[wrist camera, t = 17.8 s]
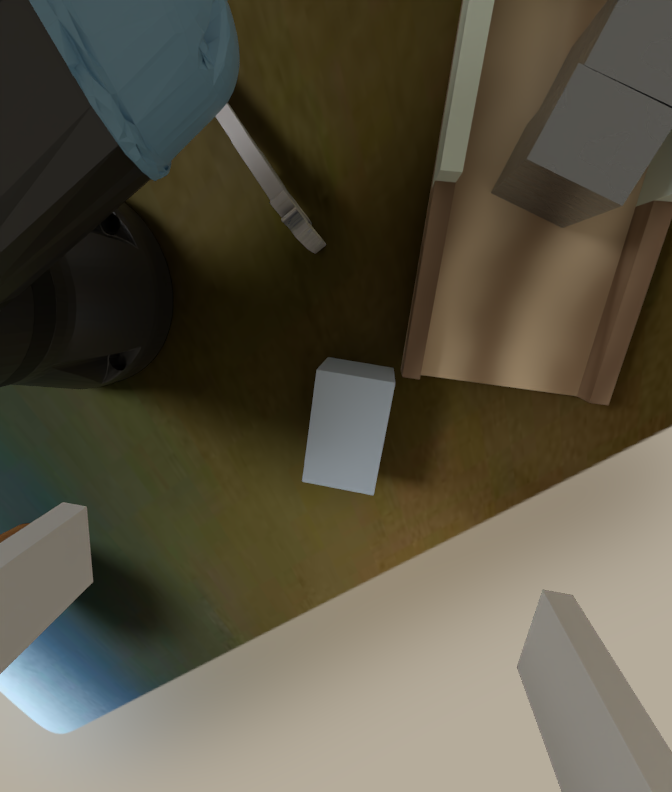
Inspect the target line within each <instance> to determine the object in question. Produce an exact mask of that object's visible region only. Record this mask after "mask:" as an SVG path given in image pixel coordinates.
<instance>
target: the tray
mask: <svg viewBox="0 0 672 792" xmlns="http://www.w3.org/2000/svg"><path fill="white" fill-rule="evenodd" d="M494 1H495V0H463V5H462V11H461V17H460V23H459V29H458V35H457V41H456V47H455V53H454V59H453V65H452V71H451V76H450V82H449V88H448V94H447V100H446V106H445V112H444V118H443V124H442V130H441V136H440V142H439V148H438V154H437V160H436V166H435V172H434V178H433V184H434V182H435V181H446V182H456V181H457V180H458V178H459V177H460V175H461V174H462V172H463V167H464V162H465V156H466V151H467V146H468V140H469V135H470V129H471V124H472V119H473V113H474V108H475V103H476V97H477V92H478V86H479V81H480V76H481V70H482V65H483V60H484V54H485V49H486V43H487V38H488V33H489V27H490V22H491V17H492V11H493V6H494ZM433 184H432V187H433ZM654 200H656V201H668V202H672V129H671V131H670V132H669V134H668V135H667V137H666V139H665V140H664V142H663V143H662V145H661V146H660V148H659V149H658V151H657V153H656V154H655V156H654V157H653V159H652V160H651V162H650V164H649V165H648V169H647V172H646V175H645V178H644V181H643V185H642V188H641V191H640V194H639V198H638V201H637V204H636V207H637V206H639V205H642V204H645V203H648V202H651V201H654Z"/></svg>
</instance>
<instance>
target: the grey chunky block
mask: <svg viewBox="0 0 672 792" xmlns="http://www.w3.org/2000/svg"><path fill="white" fill-rule="evenodd" d="M578 63H580V64H582V65H584V66H586V67H588V68H590V69H592V70H595V71H597V72H599V73H601V74H603V75H605V76H607V77H609V78H611V79H613V80H615V81H617V82H619V83H621V84H623V85H625V86H627V87H629V88H631V89H633V90H635V91H637V92H639V93H641V94H643V95H645V96H648V97H650V98H652V99H654V100H656V101H658V102H660V103H662V104H664V105H666V106H668V107H670V108H672V0H608V1H607V2H606V3H605V4H604V6H603V7H602V8H601V10H600V11H599V12H598V14H597V15H596V16H595V18H594V19H593V20H592V21H591V23H590V24H589V25H588V27H587V28H586V29H585V31H584V32H583V33H582V35H581V36H580V37H579V39H578V40H577V41H576V42H575V44H574V45H573V46H572V48H571V49H570V51H569V53H568V55H567V57H566V59H565V61H564V63H563V65H562V67H561V69H560V70H559V72H558V74H557V76H556V78H555V80H554V82H553V84H552V86H551V88H550V90H549V92H548V94H547V96H546V97H545V99H544V101H543V103H542V105H541V107H542V106H543V105H544V104H545V102H546V101H547V100H548V99H549V98H550V96H551V95H552V94H553V93H554V92H555V91H556V89H557V88H558V87H559V86H560V85H561V83H562V82H563V81H564V80H565V79H566V78H567V76H568V75H569V74H570V73H571V72H572V70H573V69H574V68H575V67H576V66H577V64H578ZM541 107H540V108H541Z"/></svg>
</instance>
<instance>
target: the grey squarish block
mask: <svg viewBox="0 0 672 792" xmlns="http://www.w3.org/2000/svg"><path fill="white" fill-rule="evenodd" d="M671 129H672V108H670V107H668V106H666V105H664V104H662V103H660V102H658V101H656V100H654V99H652V98H650V97H648V96H645V95H643V94H641V93H639V92H637V91H635V90H633V89H631V88H629V87H627V86H625V85H623V84H621V83H619V82H617V81H615V80H613V79H611V78H609V77H607V76H605V75H603V74H601V73H599V72H597V71H595V70H592V69H590V68H588V67H586V66H584V65H582V64H580V63H578V64H577V66H576V67H575V68H574V69H573V70H572V72H571V73H570V74H569V75H568V76H567V78H566V79H565V80H564V81H563V82H562V83H561V85H560V86H559V87H558V88H557V89H556V91H555V92H554V93H553V94H552V95H551V96H550V98H549V99H548V100H547V101H546V102H545V104H544V105H543V106H542V107H541V108H540V109H539V111H538V112H537V113H536V114H535V115H534V117H533V118H532V119H531V120H530V121H529V122H528V124H527V125H526V127H525V129H524V131H523V133H522V135H521V137H520V139H519V140H518V142H517V144H516V146H515V148H514V150H513V152H512V154H511V156H510V157H509V159H508V161H507V163H506V165H505V167H504V169H503V171H502V173H501V174H500V176H499V178H498V180H497V182H496V184H495V186H494V188H493V190H492V191H491V193H492V194H494V195H496V196H498V197H500V198H502V199H504V200H506V201H508V202H510V203H512V204H514V205H516V206H518V207H520V208H522V209H524V210H526V211H529V212H531V213H533V214H535V215H537V216H539V217H541V218H543V219H545V220H547V221H549V222H551V223H553V224H555V225H557V226H559V227H561V228H564V227H567V226H570V225H572V224H575V223H578V222H580V221H583V220H586V219H588V218H591V217H594V216H597V215H599V214H602V213H605V212H607V211H610V210H613V209H616V208H618V207H621V206H623V204H624V203H625V201H626V200H627V198H628V196H629V195H630V193H631V192H632V190H633V189H634V187H635V185H636V184H637V182H638V181H639V179H640V178H641V176H642V175H643V173H644V171H645V170H646V168H647V167H648V165H649V164H650V162H651V160H652V159H653V157H654V156H655V154H656V153H657V151H658V149H659V148H660V146H661V145H662V143H663V142H664V140H665V139H666V137H667V135H668V134H669V132H670V131H671Z"/></svg>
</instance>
